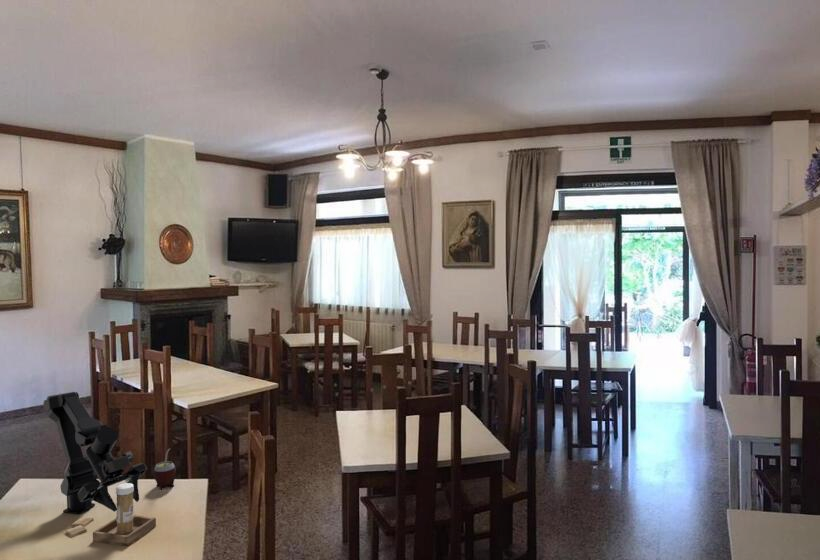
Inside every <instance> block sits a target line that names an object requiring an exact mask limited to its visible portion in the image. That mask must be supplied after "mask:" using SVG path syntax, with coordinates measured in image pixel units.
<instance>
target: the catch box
mask: <svg viewBox="0 0 820 560" xmlns="http://www.w3.org/2000/svg"><path fill="white" fill-rule="evenodd" d="M156 526H157V518H156V517H153V516H152V517H151V516H144V515H135V514H133V528H134V529H133V530H132V531H131V532H129V533H126V534H118V533H117V532H116V531H117V517H115V518H114V519H112V520H110V521H109V522H108V523H105V524H104V525H102V526H101V527H100V528H98V529H96V530H94V531H92V542H97V543H105V544H112V545H118V546H125V547H127V546H130V545H131V544H132V543H134V542H136V541H137V540H138V539H141V537H142V536H144V535H145V534H146V533H148V532H150V531H151V530H153V528H155V527H156Z"/></svg>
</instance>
